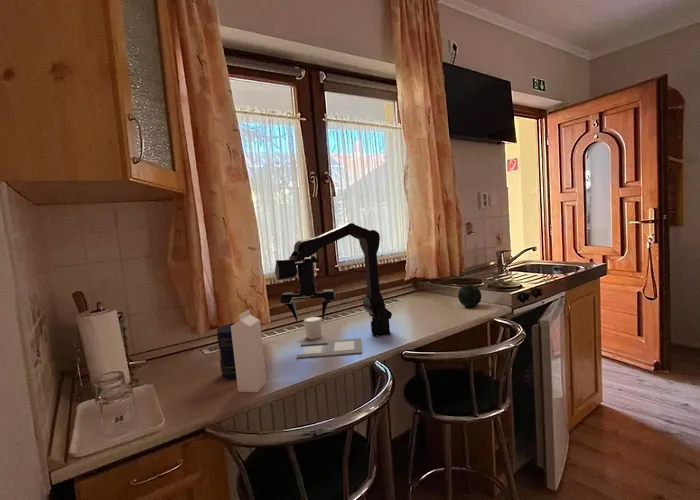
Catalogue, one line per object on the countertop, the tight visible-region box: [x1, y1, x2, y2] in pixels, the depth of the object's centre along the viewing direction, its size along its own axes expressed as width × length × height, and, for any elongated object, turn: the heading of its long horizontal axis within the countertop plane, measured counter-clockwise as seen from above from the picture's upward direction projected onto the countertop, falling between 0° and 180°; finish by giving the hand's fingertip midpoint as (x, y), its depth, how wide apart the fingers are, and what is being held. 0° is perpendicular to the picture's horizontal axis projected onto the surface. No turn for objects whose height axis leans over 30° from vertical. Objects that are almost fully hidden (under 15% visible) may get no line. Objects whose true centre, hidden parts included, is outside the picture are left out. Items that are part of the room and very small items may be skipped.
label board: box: [296, 337, 363, 360], centre depth 145 cm, size 22×15×1 cm
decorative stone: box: [457, 284, 482, 308], centre depth 185 cm, size 10×10×10 cm
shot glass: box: [303, 316, 322, 340], centre depth 160 cm, size 7×7×7 cm
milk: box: [231, 309, 267, 393], centre depth 117 cm, size 6×6×22 cm
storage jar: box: [216, 322, 237, 382], centre depth 128 cm, size 10×10×15 cm
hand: (310, 319), depth 146 cm, fingers open, 9 cm apart
